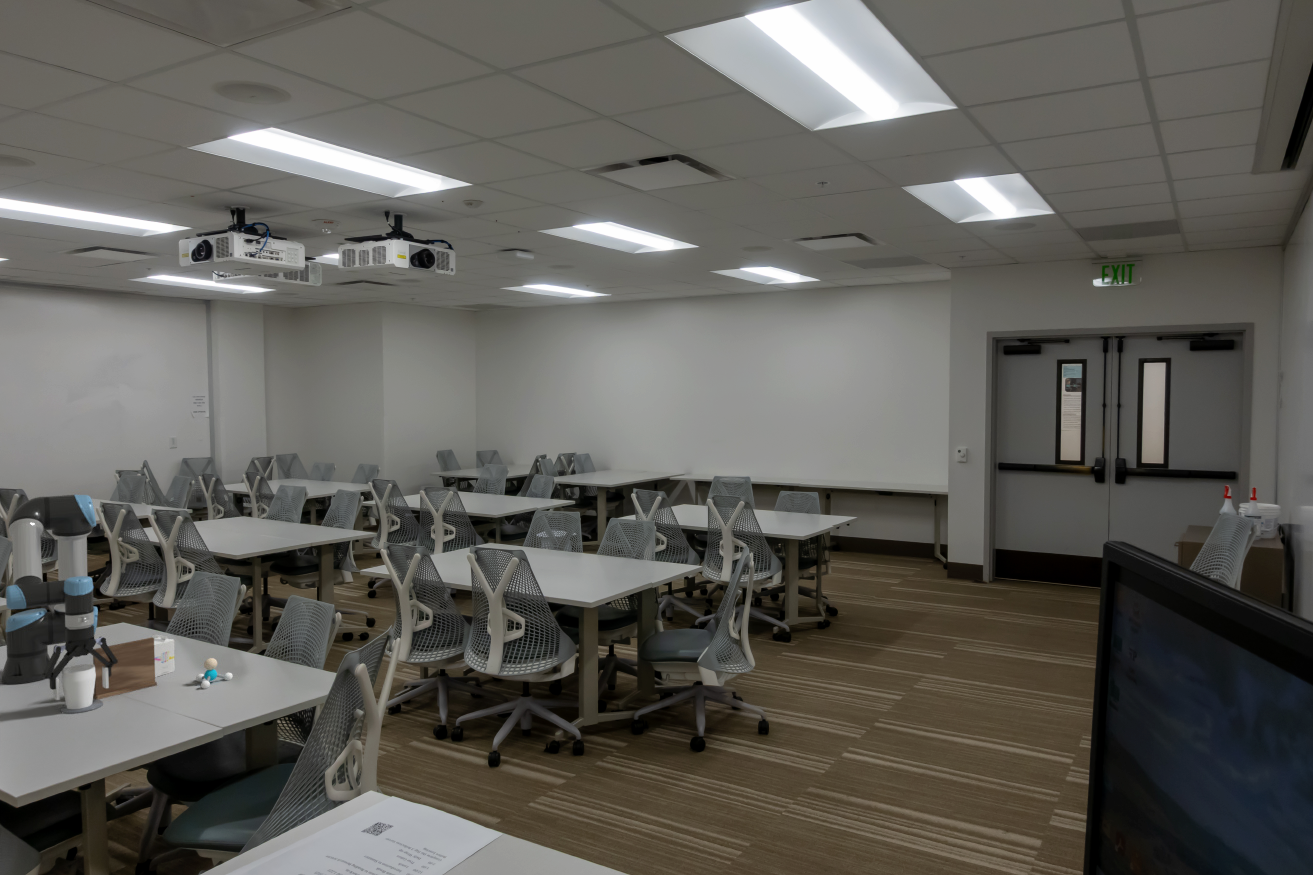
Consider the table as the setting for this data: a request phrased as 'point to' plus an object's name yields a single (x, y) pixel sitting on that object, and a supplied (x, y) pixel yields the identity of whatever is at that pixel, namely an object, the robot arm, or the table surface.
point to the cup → (78, 685)
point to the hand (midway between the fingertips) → (81, 693)
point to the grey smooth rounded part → (94, 705)
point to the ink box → (163, 655)
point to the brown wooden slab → (127, 668)
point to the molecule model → (211, 673)
